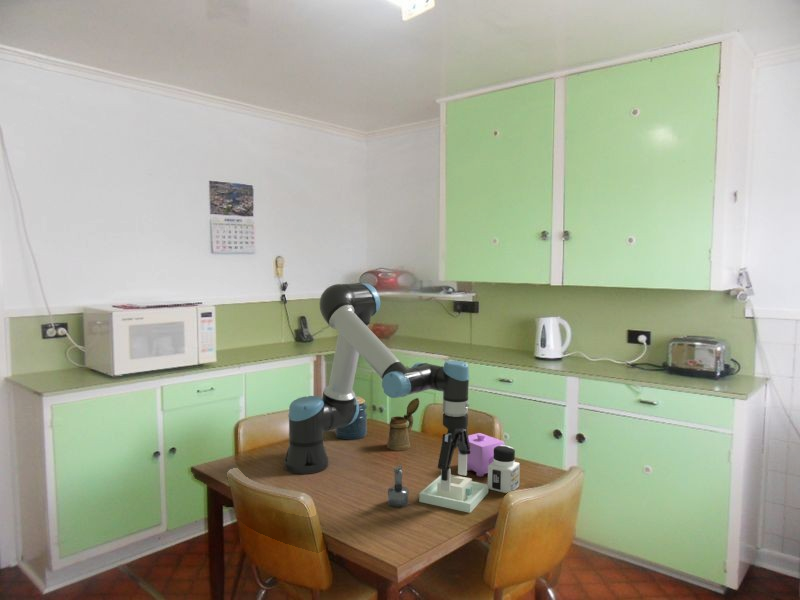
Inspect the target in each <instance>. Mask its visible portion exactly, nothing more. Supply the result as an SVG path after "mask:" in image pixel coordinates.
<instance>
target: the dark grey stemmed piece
mask: <svg viewBox="0 0 800 600" xmlns="http://www.w3.org/2000/svg"><path fill="white" fill-rule="evenodd" d="M393 470H394V471H393V473H394V486H391V487H389V488H388V489H387V504H388V506H390V507H391V508H395V509H398V508H399V509H401V508H405V507H407V506H408V505H409V489H408V488H407V487H405V486H403V466H402V465H398V466H397V467H395V468H394V469H393Z"/></svg>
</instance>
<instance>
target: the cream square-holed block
mask: <svg viewBox="0 0 800 600" xmlns="http://www.w3.org/2000/svg"><path fill="white" fill-rule="evenodd" d="M472 481H473V478H470V477H467V476H466V477H465V476H462V475H454V474H451V479H450V491H444V490H441V480H440V481H439V482H438V483H437V496H441V497H446V498H450V499H455V500H460V501H464V500H465V499H466V498H467V497H468V496H470V495H471V494H472Z"/></svg>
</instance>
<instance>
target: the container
mask: <svg viewBox="0 0 800 600" xmlns="http://www.w3.org/2000/svg"><path fill="white" fill-rule="evenodd" d="M515 458H516V450H515V449H514V447H512V446H509V445H505V444H504V445H501V446H497V447H495V448H494V461H493V462H492V463H491V464H489V465H488V473H487V484H488V490H491V491H496V492H499V493H504V494H507V492H509V491H512V490H514V491H515V490H517V489H518V487H519V486H520V473H521V472H520V468H521V467H520V465H521V464H520V463H521V462H517V461H515V460H516V459H515Z"/></svg>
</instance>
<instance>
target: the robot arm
mask: <svg viewBox="0 0 800 600" xmlns="http://www.w3.org/2000/svg"><path fill="white" fill-rule="evenodd" d="M380 308H381V298H380V295H379V293H378V291H377V289H376V288H375V287H374V286H373V285H372V284H369V283H365V282H364V283H361V282H357V283H336V284H332V285H330V286H328V287H326V289H324V291H323V292H322V294H321V295H320V298H319V311H320V314H321V316H322V317H323V320H324V321H325V322H326V323H327V325H328V326H329V327H331V328H332V329H334V330H337V331H338V333H337V338H336V344H335V349H334V355H333V360H332V366H331V371H330V377H329V382H328V385H327V386H326V387H324V389H323V391H322V396H318V395H308V396H302V397H298V398H296V399H294V400H293V401H292V402H291V403H290V405H289V409H288V411H289V412H288V433H289V434H288V436H289V437H288V443H289V444H288V448H287V451H286V455H285V458H284V461H283V463H284V465H283V466H284V467H283V468H284V470H286V471H287V472H289V473H291V474H300V475H306V474H307V475H308V474H309V475H310V474H313V473H314V474H315V473H319V472H322V471H324V470H326V469H327V468H328V467H329V457H328V454H327V450H326V447H325V445H324V433H326V432H330V431H333V430H335V429H337V428H341V427H345V426H347V425H349V424H351V423H353V422H354V421H355V420H356V418H357V416H358V413H359V404H357V403H358V400H357V398H356V397H355V396H356V393H355V391H354V389H353V388H354V383H355V378H356V373H357V367H358V363H359V357H362V358H363V360H364V361H365V362H366V363H367V364H368V365H369V366H370V367H371V369H373V371H374V372H375V373H376V374H377V375H378V376H379V378H381V379H382V380H381V388H382V389H383V393H384V394H385V395H386V396H387V397H389V398H392V399H398V398H404V397H407V396H408V395H412V394H417V393H420V392H425V391H428V390H433V391H439V392H442V397H443V398H442V412H443V414H442V426H444V428H446V429H447V433H443V434H442V443H441V447H440V453H439V457H438V463H437V469H440V475H441V490H444V491H450V479H451V475H452V473H451V463H452V460H453V457H454V453H455V449H457V450H458V449H459V452H460V453H461V454H460V453H459V454H458V453H457V474H458V476H463V477H465V476H466V477H467V475H468V471H467V454H470V451H469V450H470V444H469V439H468V435H469V434H468V426H469V415H468V414H467V413H469V407H470V405H471V404H470V403H469V382H470V374H469V373H470V371H469V369H470V368H469V365H468V363H467V362H465V361H462V360H461V361H460V360H448V361H445V362H444V363H443V365H437V364H431V363H430V364H429V363H428V362H417V363H416V362H415V363H414V364H413V366H411V368H409V367H408V368H407V366H405V364H403V362H401V361H400V360H399V358H397V357H396V355H394V353H393V352H392V351H391V350H390V349H389V348H388V347H387V345H385V343H383V342H382V341H381V339H380V338H378V336H377V335H376V334H375V333H374V332H373V331H372V330H371V329H370V328H369V327H368V326H370V323H371V319H372V317H373V316H375V315H377V313H378V312H379V310H380ZM466 445H467V446H466Z"/></svg>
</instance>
